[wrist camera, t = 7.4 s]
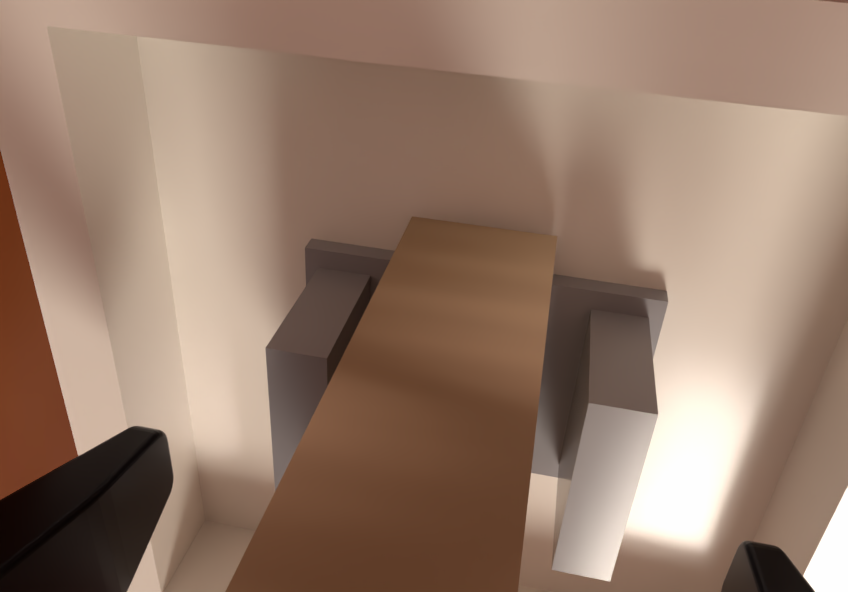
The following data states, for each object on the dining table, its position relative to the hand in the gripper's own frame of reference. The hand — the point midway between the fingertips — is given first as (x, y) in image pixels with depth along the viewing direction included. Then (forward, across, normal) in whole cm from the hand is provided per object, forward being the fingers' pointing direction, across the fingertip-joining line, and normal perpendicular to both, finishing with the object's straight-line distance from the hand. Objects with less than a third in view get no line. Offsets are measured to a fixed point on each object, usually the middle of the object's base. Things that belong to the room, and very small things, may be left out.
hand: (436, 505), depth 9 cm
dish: (+4, 0, 0) cm, 4 cm away
